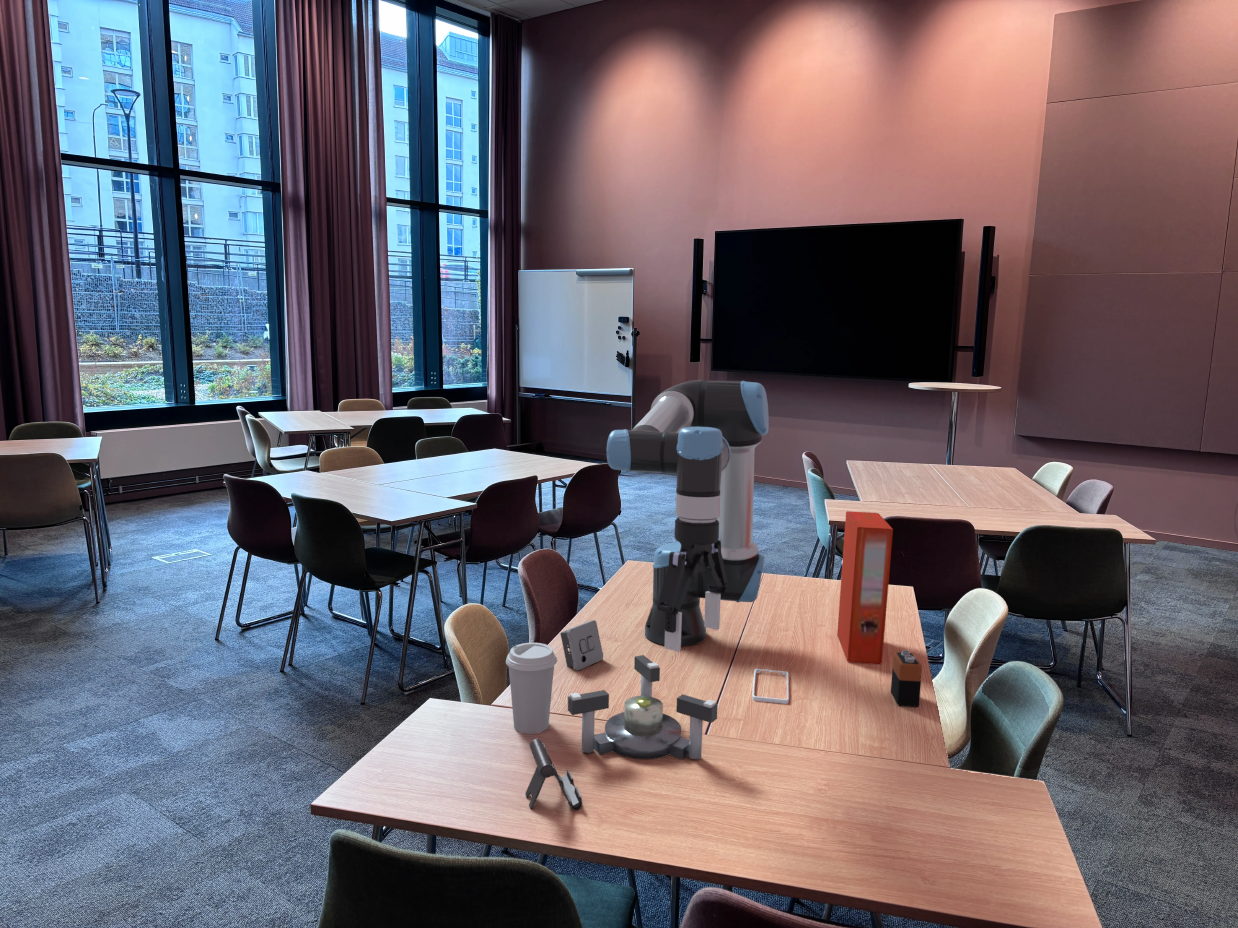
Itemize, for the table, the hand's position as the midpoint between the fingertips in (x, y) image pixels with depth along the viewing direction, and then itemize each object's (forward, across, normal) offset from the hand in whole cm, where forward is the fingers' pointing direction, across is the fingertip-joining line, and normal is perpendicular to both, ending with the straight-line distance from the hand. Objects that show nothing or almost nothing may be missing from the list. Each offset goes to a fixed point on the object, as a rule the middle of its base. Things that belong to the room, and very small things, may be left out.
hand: (692, 638), depth 144 cm
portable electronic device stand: (+22, +25, -11) cm, 35 cm away
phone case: (+22, -36, -1) cm, 42 cm away
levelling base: (+22, 0, -8) cm, 23 cm away
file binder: (+21, -69, +7) cm, 72 cm away
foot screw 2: (+21, -10, -15) cm, 28 cm away
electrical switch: (+21, -22, -41) cm, 51 cm away
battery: (+21, -47, +24) cm, 57 cm away
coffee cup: (+22, +8, -30) cm, 38 cm away
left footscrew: (+22, 0, +1) cm, 22 cm away
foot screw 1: (+22, +10, -15) cm, 28 cm away
